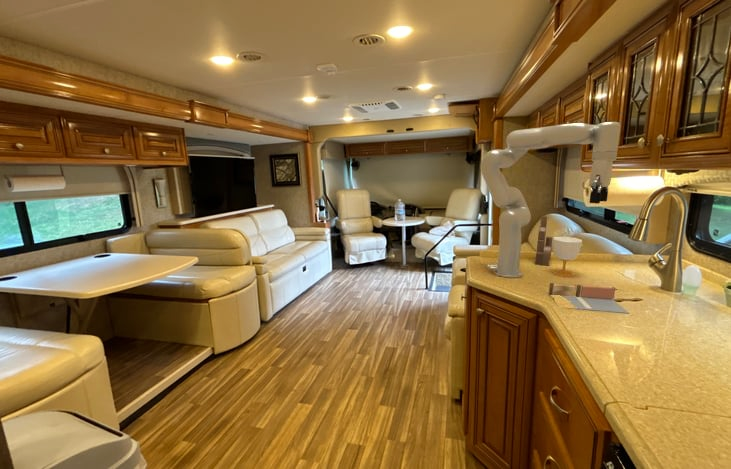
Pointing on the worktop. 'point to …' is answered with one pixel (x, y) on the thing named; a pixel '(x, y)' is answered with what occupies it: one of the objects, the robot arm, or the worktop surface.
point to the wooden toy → (543, 245)
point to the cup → (566, 252)
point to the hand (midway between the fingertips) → (598, 202)
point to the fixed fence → (564, 290)
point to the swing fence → (598, 292)
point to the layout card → (595, 304)
